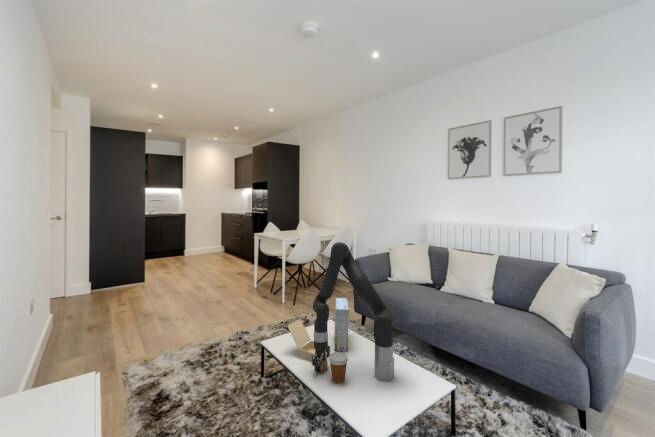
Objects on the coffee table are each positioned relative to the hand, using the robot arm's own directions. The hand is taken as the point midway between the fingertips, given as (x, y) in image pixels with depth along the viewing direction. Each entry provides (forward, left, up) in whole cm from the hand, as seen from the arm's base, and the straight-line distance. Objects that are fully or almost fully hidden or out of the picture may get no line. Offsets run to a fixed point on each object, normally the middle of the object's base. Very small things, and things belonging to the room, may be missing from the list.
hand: (320, 369), depth 161 cm
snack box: (+6, -32, -1) cm, 33 cm away
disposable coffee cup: (-12, +2, -1) cm, 12 cm away
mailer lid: (+22, -10, +11) cm, 27 cm away
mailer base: (+11, -10, -1) cm, 15 cm away
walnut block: (0, 0, -1) cm, 1 cm away
